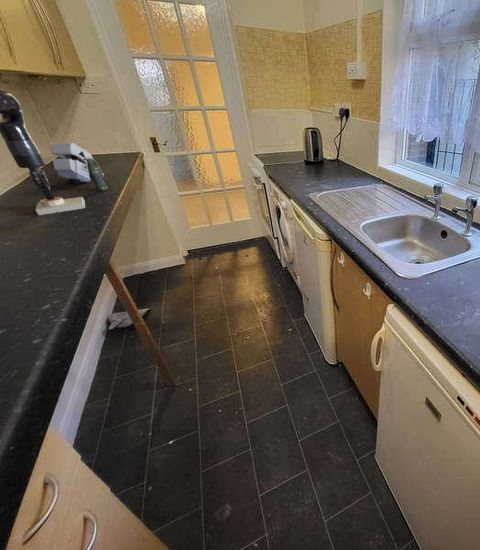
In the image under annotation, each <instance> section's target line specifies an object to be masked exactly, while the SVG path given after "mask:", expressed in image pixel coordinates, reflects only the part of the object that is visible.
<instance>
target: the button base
mask: <svg viewBox="0 0 480 550" xmlns="http://www.w3.org/2000/svg"><path fill="white" fill-rule="evenodd" d="M54 197H55V198H57V200H53V201H45V200H46V199H47V198H46V197H45V198H43V199H40V200H39V202H37V204H36V207H35V212H36V214H37V216H43V215H50V214H57V213H62V212H69V211H75V210H76V211H77V210H81V209H86V201H85V199H84V197H83V196H78V197H70V198H63V197H62V196H54ZM56 212H57V213H56Z"/></svg>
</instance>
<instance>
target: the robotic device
mask: <svg viewBox="0 0 480 550" xmlns="http://www.w3.org/2000/svg"><path fill="white" fill-rule="evenodd" d="M50 145H51V146H50V149H51V150H50V151H51V154H52V155H54V156H57V157H59V158H53V159H52V163H53V168H54V170H55V171H56V174H57V176H59V177H61V178H63V179H65V180H68V181H69V182H70V183H72V184H74V185H80V183H88V182H92V180H91V178H92V176H91V174H90V173H89V171H88V167H87V165H88V163H87V161H86V160H83V159H85V158H93V156H92V154H91V153H90V152H89V151H88V150H86V149H84V148H82V147H80V146H79V145H77V144H75V143H73V142H54V143H52V144H50ZM102 175H103V177H104V178H105V173H103V172H102Z"/></svg>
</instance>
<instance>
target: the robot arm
mask: <svg viewBox="0 0 480 550" xmlns="http://www.w3.org/2000/svg"><path fill="white" fill-rule="evenodd" d="M0 114H1V119H2V120H1V121H0V135H1V138H2V139H3V140H4V143H5V145H6V148H7V150H8V151H9V153H10V155H11V157H12V158H13V160H14V161H15V163H16V165H17V167H18V168H20V169H28V170H29V172H28V175H29V177H30V178H31V179H32V181H33V183H34V184H35V185H36V187H37V188H38V190H39V191H42V193H43V195H44V197H45V199H46V198H47V199H48V200H51V199H54V198H55V197H56V196H54V193H53V191H52V190H51V185H50V183H49V179H48V178H47V175H46V172H45V170H44V169H43V170H42V169H41V167H45V166H46V165H47V162H46V161H45V159H44V157H43V155H42V153H41V151H40V150H39V147H38V145H37V144H36V143H35V141H34V139H33V138H32V136H31V134H30V133H29V131H28V129H27V127H26V123H25V118H24V113H23V109H22V106H21V103H20V102H19V100H18V99H17V97H15V96H14V95H13V94H11V92H9V91H7V90H5V89H0Z"/></svg>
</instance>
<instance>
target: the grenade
mask: <svg viewBox="0 0 480 550" xmlns="http://www.w3.org/2000/svg"><path fill="white" fill-rule="evenodd" d="M83 160H86V161H87V163H88V165H87V167H88V171H89V175H91V176H92V177H91V178H92V180H93V183H94V185H95V188H96V190H97V191H100V192H103V191H107V189H108V186H107V184H106V182H105V181H104V178H105V176H104V177H103V175H102V173H103V172H102V169H101V168H100V164H99V163H98V162H97V161H96V160H95V159H94V158H93V157H92V158H85V159H83Z"/></svg>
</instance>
